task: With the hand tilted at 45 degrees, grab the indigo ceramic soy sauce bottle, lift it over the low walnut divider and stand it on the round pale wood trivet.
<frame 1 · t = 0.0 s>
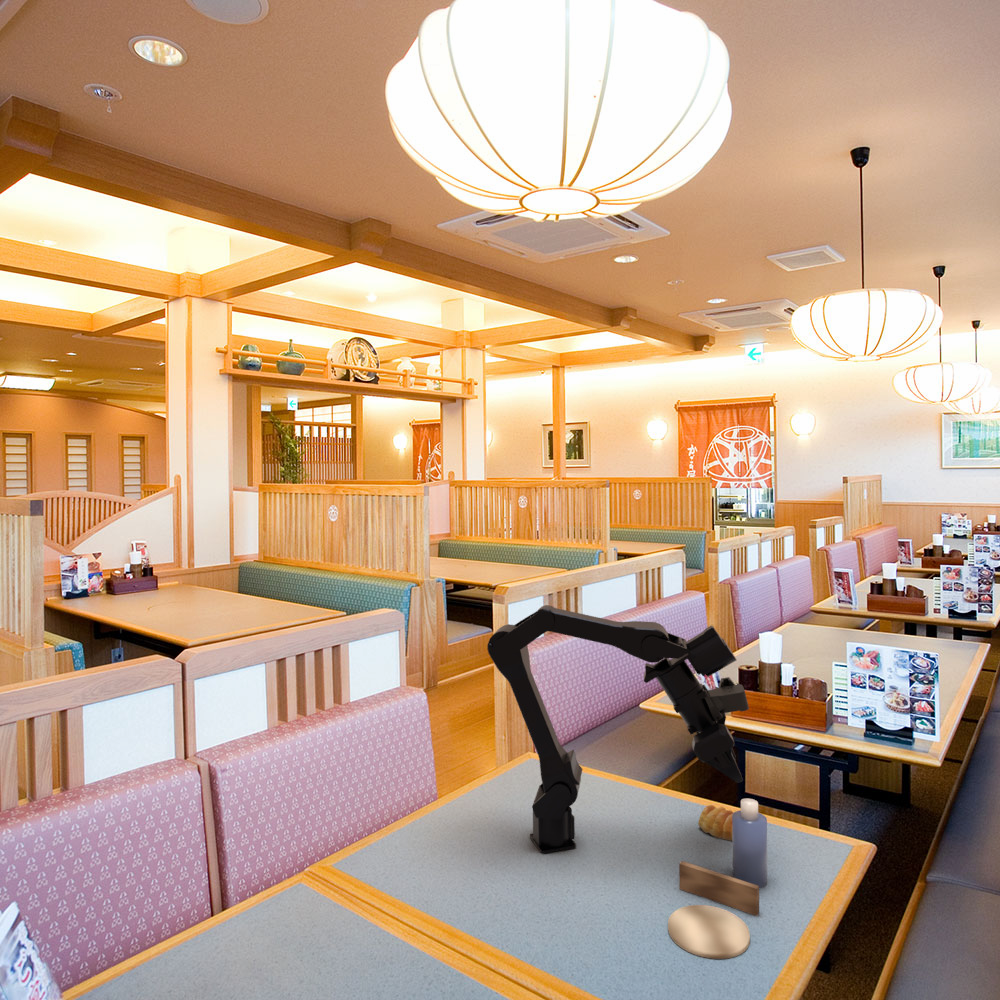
hand: (737, 770, 122), 15 cm above the table, tool tilted 35°, fingers open, 9 cm apart
soy bottle: (749, 879, 116), on the table
divider: (718, 900, 111), on the table
trivet: (708, 933, 103), on the table
pastry: (724, 832, 132), on the table
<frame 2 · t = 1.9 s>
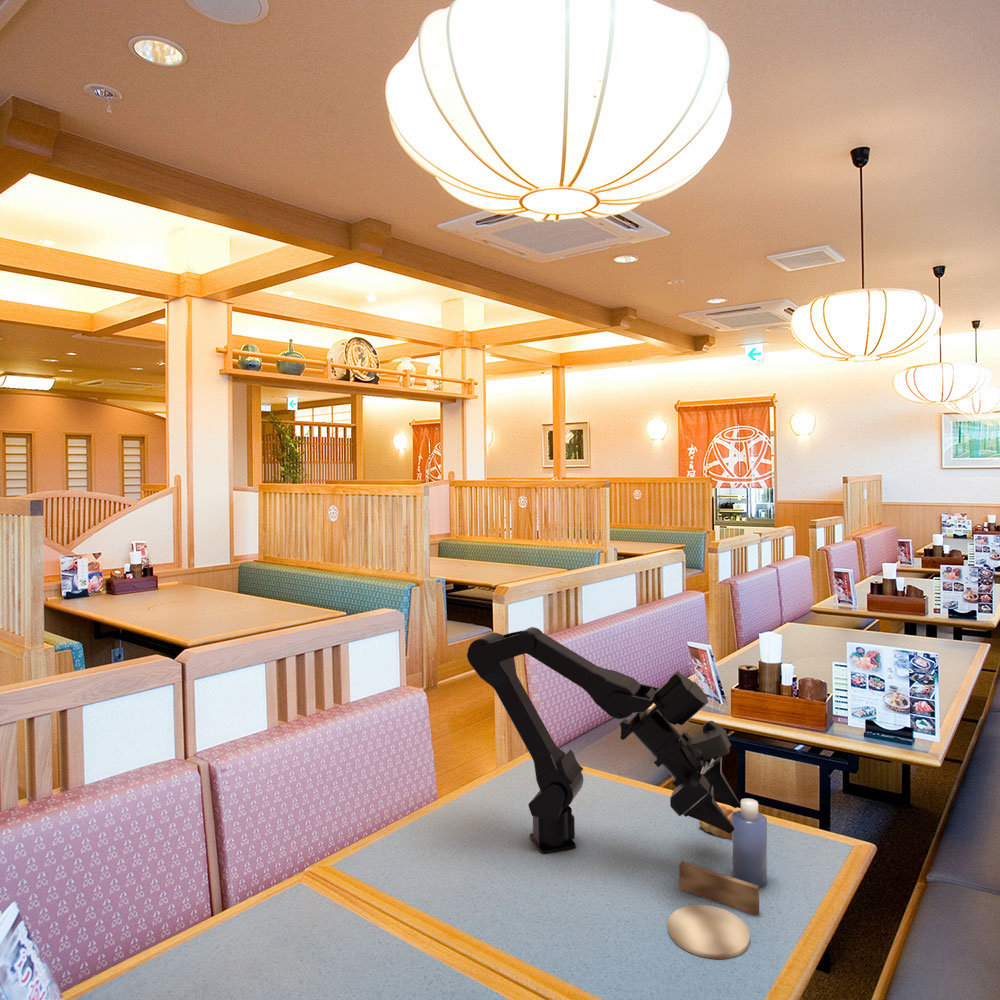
hand: (735, 818, 117), 9 cm above the table, tool tilted 45°, fingers open, 9 cm apart
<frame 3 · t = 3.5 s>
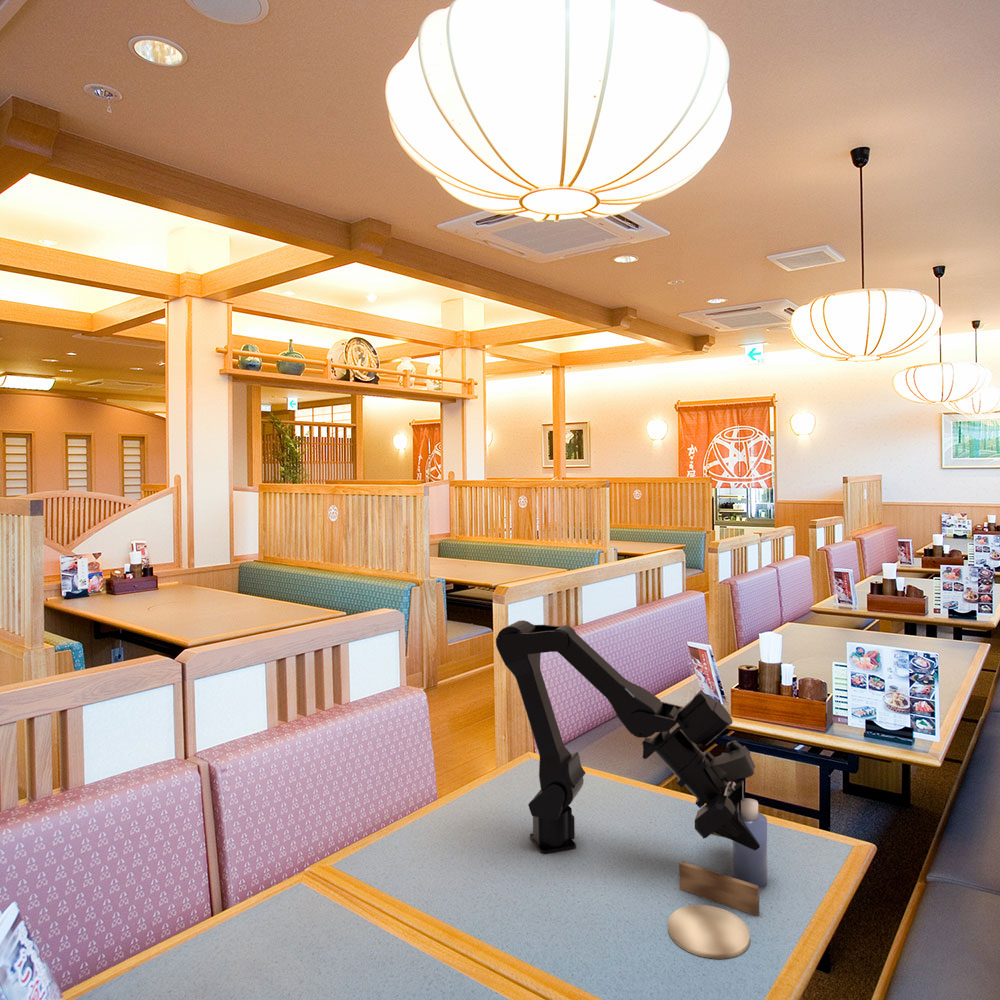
hand: (759, 840, 115), 7 cm above the table, tool tilted 45°, fingers closed on soy bottle, 5 cm apart
soy bottle: (750, 879, 116), on the table, touching gripper
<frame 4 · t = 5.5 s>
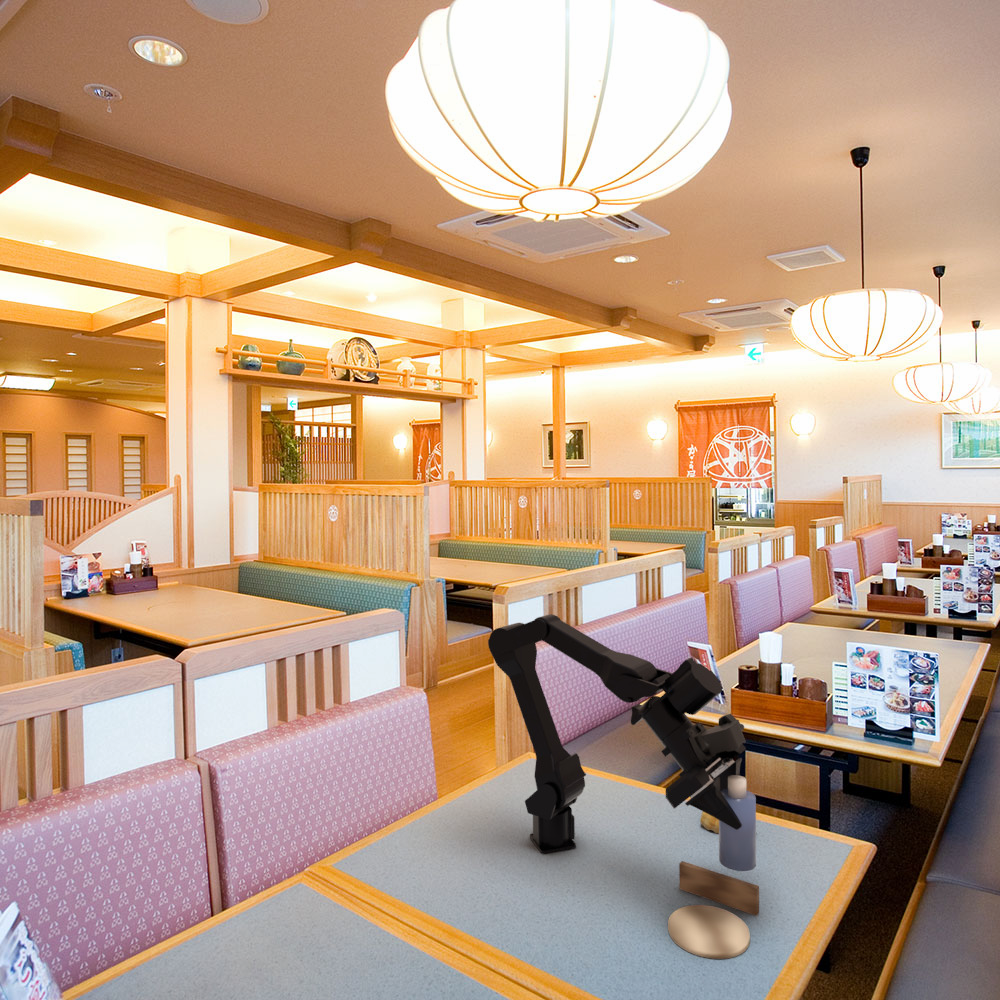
hand: (746, 820, 108), 13 cm above the table, tool tilted 45°, fingers closed on soy bottle, 5 cm apart
soy bottle: (737, 861, 109), point 7 cm above the table, touching gripper
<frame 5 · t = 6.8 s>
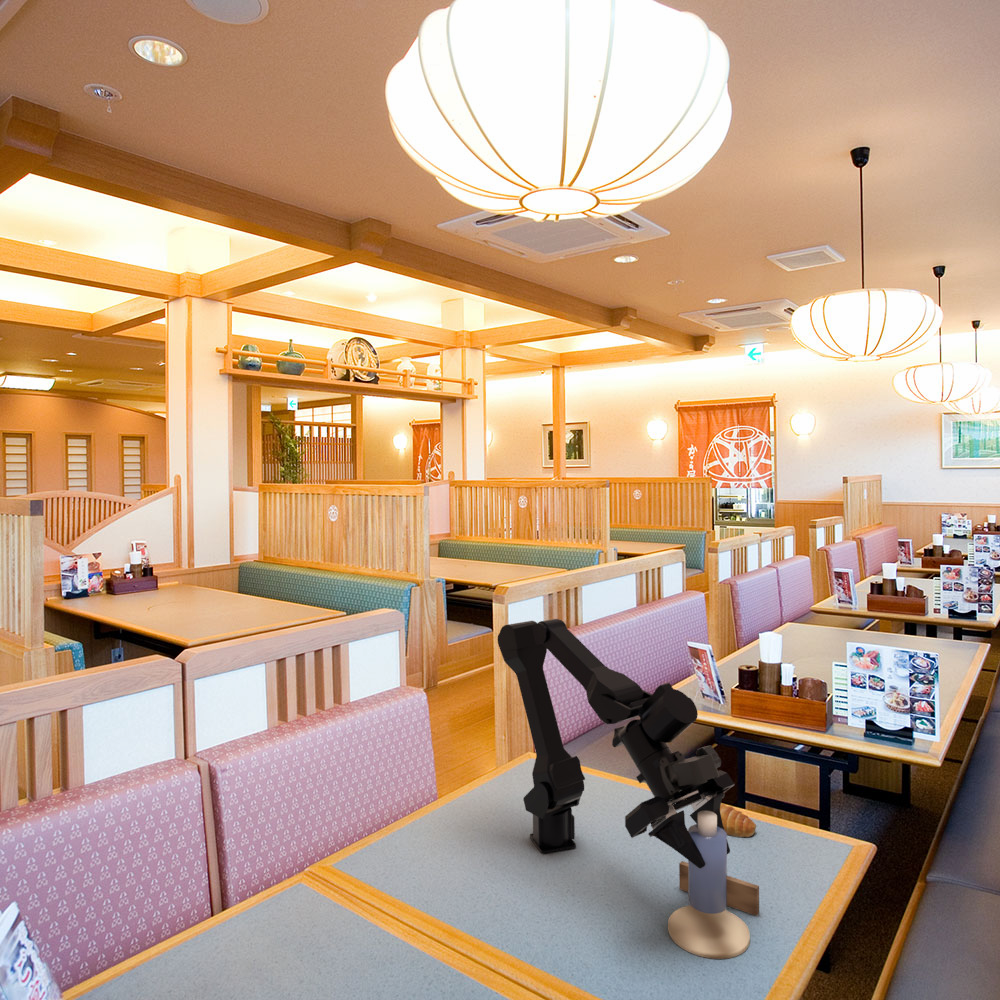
hand: (715, 860, 101), 11 cm above the table, tool tilted 45°, fingers closed on soy bottle, 5 cm apart
soy bottle: (707, 902, 103), point 4 cm above the table, touching gripper
when the fingers open (9 cm above the table, at t = 7.7 s): soy bottle drops 1 cm, resting on trivet.
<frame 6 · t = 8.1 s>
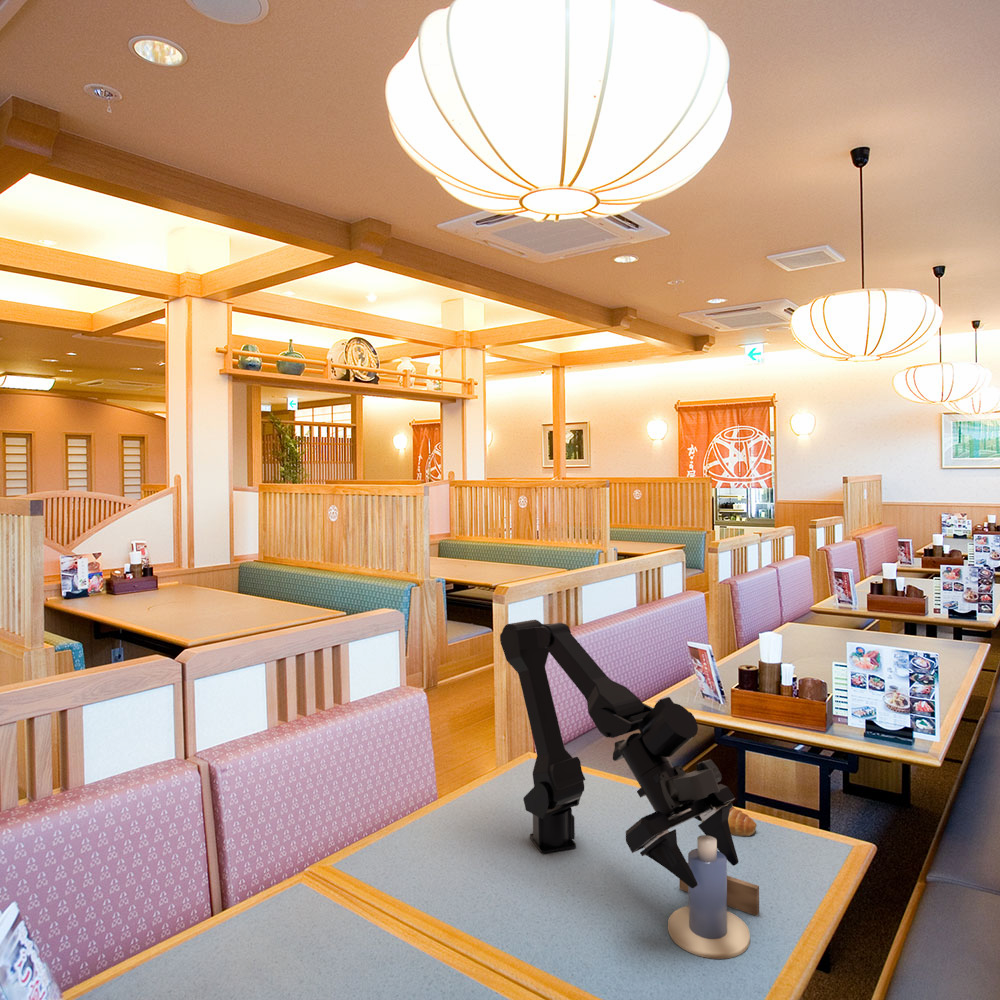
hand: (716, 875, 101), 9 cm above the table, tool tilted 45°, fingers open, 9 cm apart
soy bottle: (708, 927, 103), point 1 cm above the table, touching trivet
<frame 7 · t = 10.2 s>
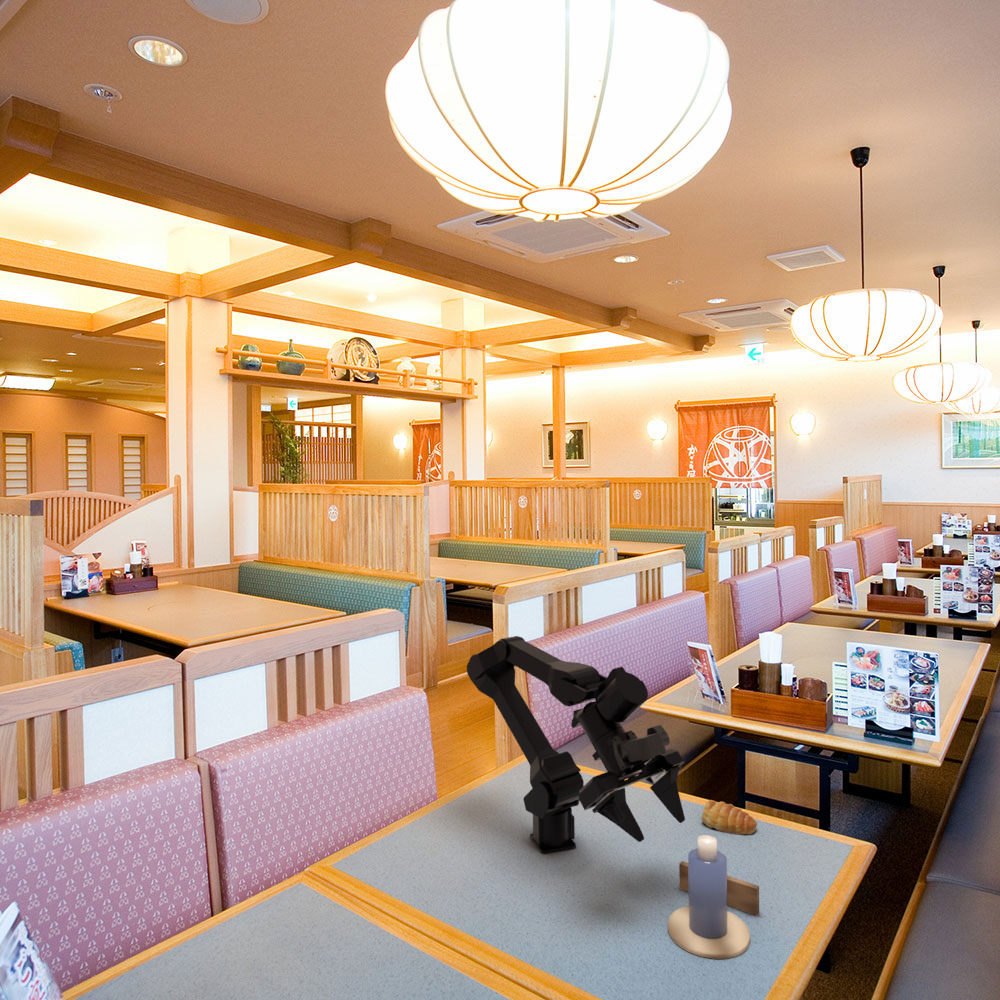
hand: (662, 830, 109), 12 cm above the table, tool tilted 45°, fingers open, 9 cm apart
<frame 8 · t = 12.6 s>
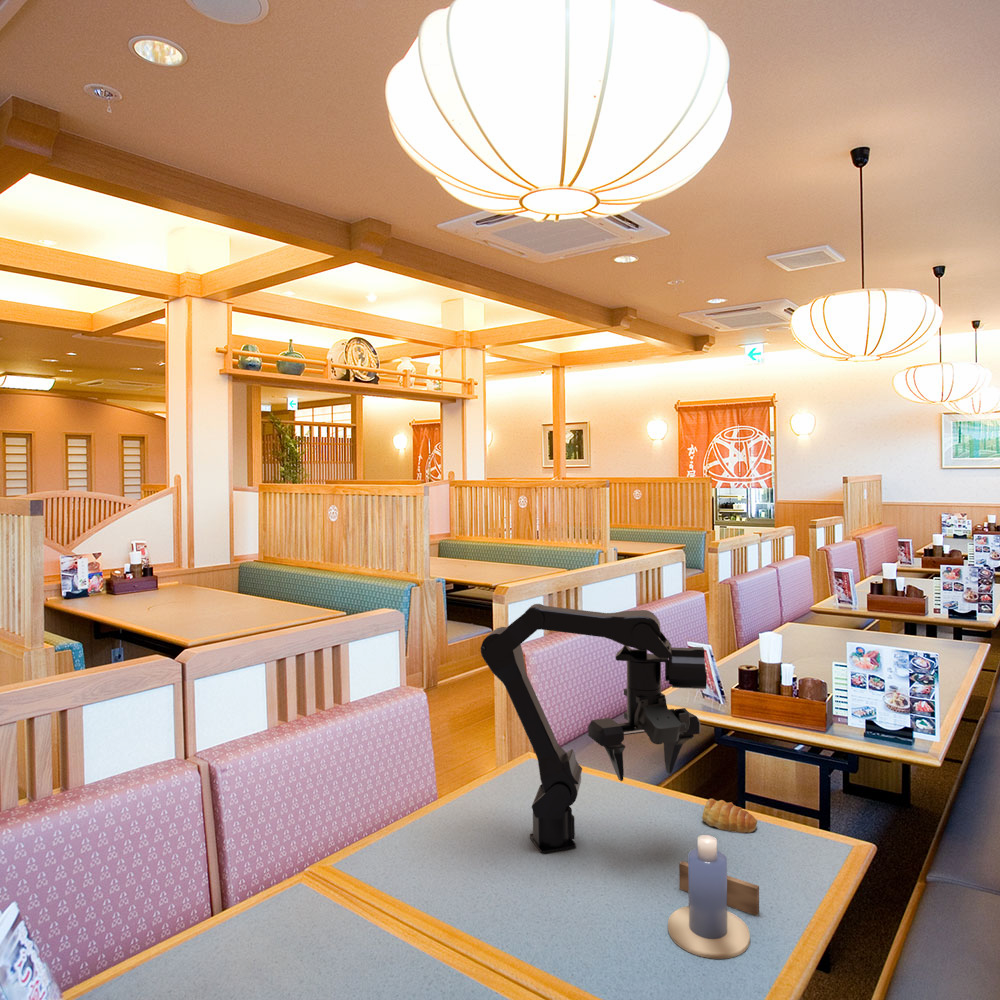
hand: (645, 776, 125), 13 cm above the table, tool pointing down, fingers open, 9 cm apart
at the end: soy bottle 0.0 cm off-centre on the trivet, point 0.8 cm above the trivet's base; soy bottle tilted 0°; the gripper is holding nothing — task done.
